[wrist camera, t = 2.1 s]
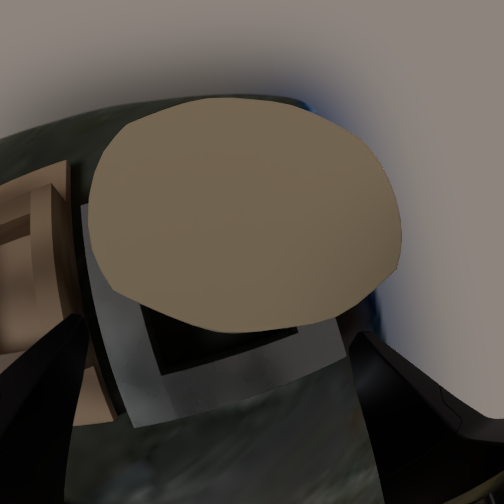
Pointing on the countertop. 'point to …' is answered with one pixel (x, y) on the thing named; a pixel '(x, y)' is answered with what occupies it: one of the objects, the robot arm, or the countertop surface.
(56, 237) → the tan piece
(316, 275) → the handle
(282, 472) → the countertop surface
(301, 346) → the socket block
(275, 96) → the countertop surface
